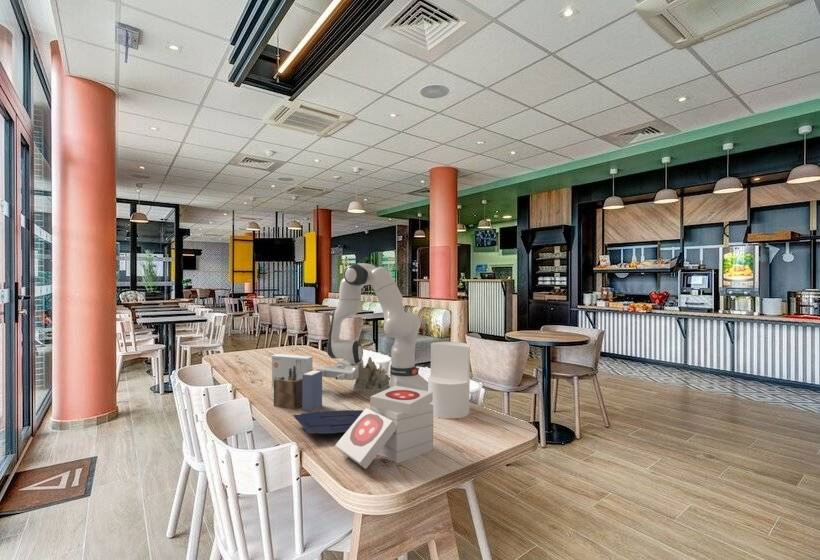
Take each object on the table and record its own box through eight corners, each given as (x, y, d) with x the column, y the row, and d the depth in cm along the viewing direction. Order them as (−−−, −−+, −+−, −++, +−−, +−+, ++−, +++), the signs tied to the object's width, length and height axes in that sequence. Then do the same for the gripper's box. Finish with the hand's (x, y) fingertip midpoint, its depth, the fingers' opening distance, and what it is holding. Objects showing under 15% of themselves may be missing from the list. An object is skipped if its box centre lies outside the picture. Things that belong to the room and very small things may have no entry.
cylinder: (439, 402, 181) (439, 340, 181) (475, 409, 172) (476, 343, 172) (420, 414, 166) (420, 346, 166) (459, 422, 157) (459, 350, 157)
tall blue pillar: (322, 405, 176) (322, 370, 176) (311, 411, 169) (311, 375, 169) (313, 404, 178) (313, 370, 178) (302, 410, 170) (302, 374, 170)
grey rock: (348, 387, 204) (351, 358, 203) (374, 383, 215) (376, 355, 215) (368, 396, 193) (370, 365, 192) (393, 391, 204) (396, 361, 204)
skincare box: (271, 386, 206) (271, 355, 206) (277, 383, 211) (277, 353, 211) (307, 390, 200) (307, 358, 200) (313, 387, 205) (313, 356, 205)
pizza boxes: (332, 455, 128) (332, 398, 128) (406, 432, 146) (407, 383, 146) (364, 479, 113) (364, 415, 113) (443, 451, 131) (443, 395, 131)
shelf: (311, 400, 183) (311, 375, 183) (294, 408, 172) (294, 381, 171) (290, 398, 187) (290, 373, 187) (273, 405, 175) (273, 379, 175)
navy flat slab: (290, 420, 155) (291, 411, 155) (361, 416, 170) (362, 407, 170) (309, 443, 134) (310, 432, 134) (388, 436, 149) (389, 426, 149)
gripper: (324, 361, 202) (308, 367, 189) (361, 365, 195) (347, 372, 182) (324, 374, 202) (308, 380, 189) (360, 378, 195) (347, 386, 182)
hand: (327, 376), depth 186 cm, fingers open, 8 cm apart
